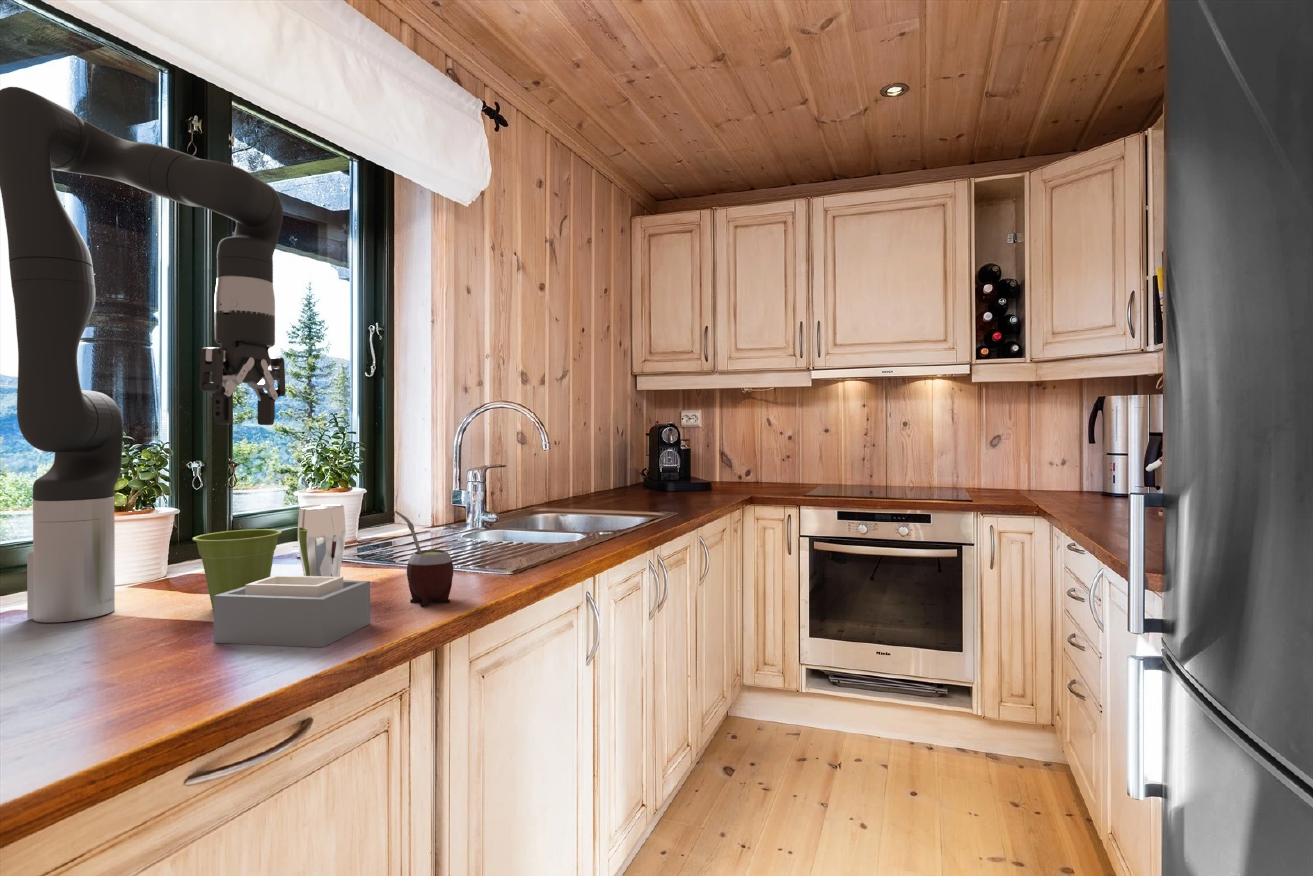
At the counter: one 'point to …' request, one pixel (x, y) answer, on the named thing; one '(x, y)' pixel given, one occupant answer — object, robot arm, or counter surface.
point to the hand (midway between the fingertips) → (245, 424)
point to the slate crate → (291, 617)
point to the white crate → (295, 586)
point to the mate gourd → (428, 573)
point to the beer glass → (321, 539)
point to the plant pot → (236, 558)
